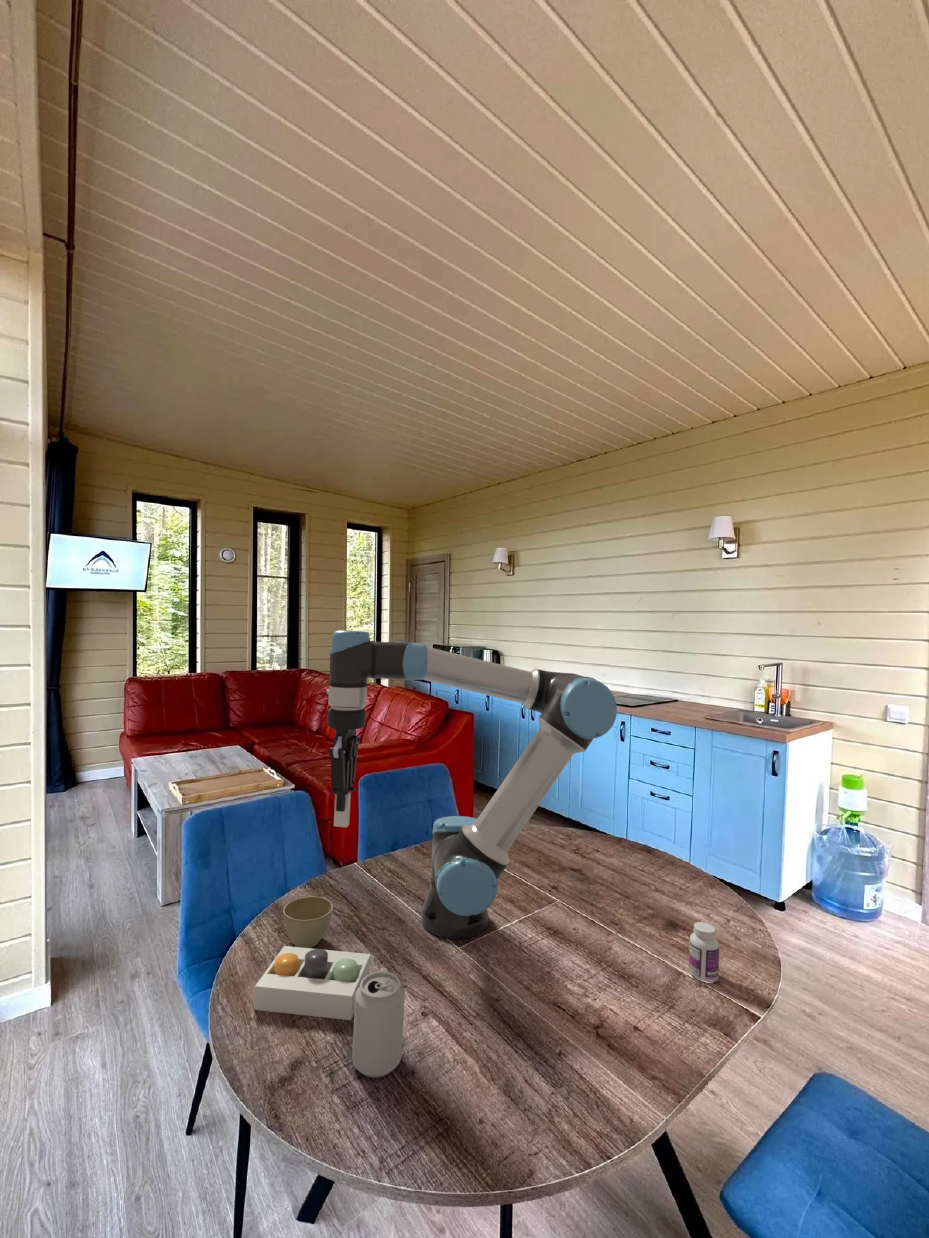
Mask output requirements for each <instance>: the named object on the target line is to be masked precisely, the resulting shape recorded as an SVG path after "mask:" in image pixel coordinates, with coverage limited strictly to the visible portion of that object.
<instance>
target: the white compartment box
mask: <svg viewBox="0 0 929 1238" xmlns="http://www.w3.org/2000/svg"><path fill="white" fill-rule="evenodd" d="M314 949H315V948H301V947H296V946H289V945H288V946H287V945H284V946H283V947H282V948H281V949H280V951H279V952H278V954H277V955H276V957H275V958H274V959H273V961H272V962H271V964H269V966H268V968H267V969H266V970H265V971H264V973H263V974H262V976H261V977H260V979H259V980H258V981H257V983H256V984H255V987H254V1001H253V1003H254V1004H253V1010H254V1011H260V1012H261V1011H262V1012H268V1013H270V1012H271V1013H279V1014H280V1013H281V1014H288V1015H289V1014H290V1015H299V1016H307V1017H317V1018H326V1019H335V1020H344V1021H352V1019H353V1017H354V1012H355V994H356V991H357V989H358V988H359V987H360V983H361V981H362V980H363V978H364V977H366V976H367V975H369V974H371V973H370V969H371V968H370V967H371V954H370V953H363V952H362V953H361V952H353V951H341V950H332V949H331V950H329V949H324V950H325V951H327V953H328V961H327V976H326V978H325V980H324V979H314V978H305V977H304V967H305V955H306V953H307V952H309V951H311V950H314ZM285 953H293V954H296V955H297V956H298V971H297V973H296V974H295V976H285V975H275V974H274V973H275V960H276V958H277V957H278V956H280V955H282V954H285ZM342 959H352V960H354V961H356V963H357V978H356V982H355V983H354V982H344V981H334V966H335V964H336V962H338V961H339V960H342Z"/></svg>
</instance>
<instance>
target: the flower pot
mask: <svg viewBox="0 0 929 1238" xmlns="http://www.w3.org/2000/svg"><path fill="white" fill-rule="evenodd" d="M333 910H334V905H333V902H332V901H331V900H329V899H327V898H325V897H322V896H310V895H309V896H303V897H299V898H295V899H293V900H291V901H289V902H287V904H285V905H284V907H283V910H282V913H283V914H282V915H283V922H284V925H285V929H286V932H287V934H288V937H289V939H290V941H291V942H292V944H293V946H294V947H301V948H311V949H313V948H314V947H315V946H317V945H318V944H319V942H320V941H321V940H322V938H323V936H324V935H325V932H326V931H327V929H328V927H329V924H330V922H331V918H332V915H333Z"/></svg>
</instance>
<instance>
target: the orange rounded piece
mask: <svg viewBox="0 0 929 1238" xmlns="http://www.w3.org/2000/svg"><path fill="white" fill-rule="evenodd" d="M275 958H276V957H275ZM297 971H298V956H297V955H296V954H293V953H285V954H282V955H280V956H278V957H277V958H276V960H275V973H274V974H275V975H285V976H295V974H296V973H297Z"/></svg>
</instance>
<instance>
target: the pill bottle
mask: <svg viewBox="0 0 929 1238" xmlns="http://www.w3.org/2000/svg"><path fill="white" fill-rule="evenodd" d="M716 935H717V930H716V928H715V926H713V925H712V924H710V923H707V922H704V921H698V922H695V923H694V924H693V932H692V933H691V934H690V937H689V954H688V955H689V960H688V961H689V962H688V963H689V964H688V971H690V972H689V974H690V973H691V974H692V975H694V976H695V977H696V978H698V979H700V980H704V981H707V982H713V981H715V980H717V979H718V980H719V972H720V970H719V969H720V966H719V965H720V963H719V962H720V943H719V941H718V939H717V938H716ZM691 974H690V975H691ZM718 980H717V981H718Z"/></svg>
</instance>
